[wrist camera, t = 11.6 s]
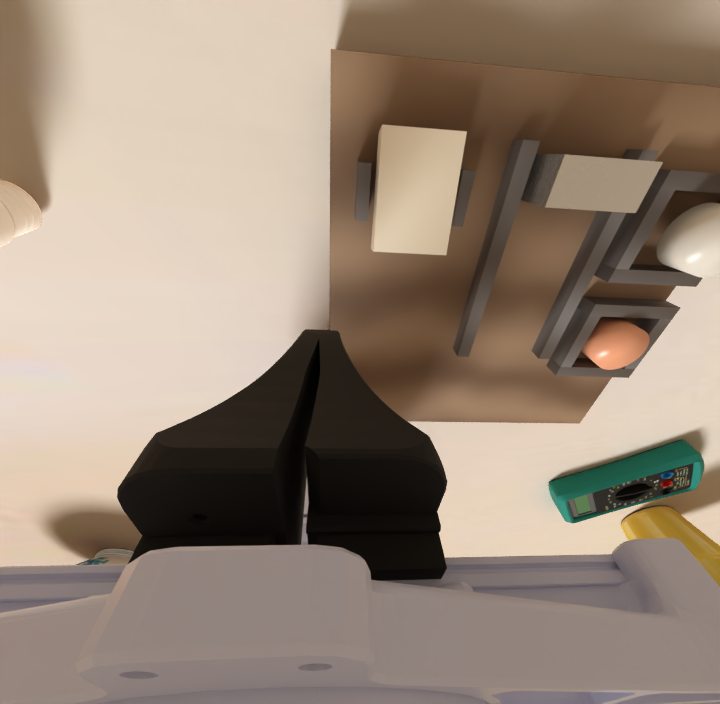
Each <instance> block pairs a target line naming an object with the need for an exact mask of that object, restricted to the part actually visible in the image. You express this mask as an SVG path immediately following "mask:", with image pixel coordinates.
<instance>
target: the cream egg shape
mask: <svg viewBox="0 0 720 704" xmlns="http://www.w3.org/2000/svg"><path fill="white" fill-rule="evenodd" d="M657 258H658V260H659V261H660V262H661V263H662V264H664V265H666V266H669V267H672V268H675V269H677V270H680V271H683V272H686V273H688V274H691V275H694V276H697V277H701V278H707V277H713V276H717V275H720V203H713V202H712V203H703V204H700V205H697V206H694V207H692V208H690V209H689V210H687V211H685V212H684V213H682V214H681V215H680V216H678V217H677V218H676V219H675V220H674V221H673V222H672V223H671V224H670V225H669V226H668V227H667V229H666V230H665V231H664V233H663V234H662V236H661V238H660V240H659V242H658V245H657Z"/></svg>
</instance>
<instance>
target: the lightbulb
mask: <svg viewBox="0 0 720 704" xmlns="http://www.w3.org/2000/svg"><path fill="white" fill-rule="evenodd" d="M41 223H42V214H41V210H40V208H39V206H38V204H37V203H36V201H35V200H34V199H33V198H32V197H31V196H30V195H29V194H28V193H27V192H26V191H24V190H23V189H22V188H20V187H19V186H17V185H15V184H13V183H10V182H8V181H4V180H0V247H2V246H4V245H6V244H8V243H9V242H10V241H11V240H12V239H13V237H17V236H20V235H22V234H26V233H28V232H30V231H33V230H35V229H37V228H38V227H39V226H40V225H41Z"/></svg>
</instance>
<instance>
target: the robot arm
mask: <svg viewBox="0 0 720 704" xmlns="http://www.w3.org/2000/svg"><path fill="white" fill-rule="evenodd" d="M446 486H447V479H446V475H445V471H444V468H443V465H442V463H441V460H440V458H439V456H438V454H437V451H436V449H435V447H434V445H433V443H432V441H431V439H430V437H429V436H428V435H427V434H425V433H423V432H422V431H420V430H419V429H417V428H416V427H414V426H413V425H411V424H410V423H408V422H407V421H406V420H404V419H403V418H402V417H400V416H399V415H398V414H397V413H395V412H394V411H393V410H392V409H391V408H390V407H388V406H387V405H386V404H385V403H384V402H383V401H382V400H381V399H380V398H379V397H378V396H377V395H376V394H375V393H374V392H373V390H372V389H371V388H370V387H369V386H368V385H367V383H366V382H365V381H364V380H363V378H362V377H361V375H360V374H359V373H358V371H357V369H356V368H355V366H354V365H353V363H352V361H351V360H350V358H349V356H348V354H347V352H346V350H345V348H344V345H343V343H342V340H341V337H340V333H339V332H338V331H336V330H304V331H303V332H302V334H301V335H300V336H299V337H298V339H297V340H296V341H295V342H294V344H293V345H292V346H291V347H290V348H289V349H288V350H287V352H286V353H285V354H284V355H283V356H282V357H281V358H280V359H279V360H278V361H277V362H276V363H275V364H274V365H273V366H272V367H271V368H270V369H269V370H268V371H266V372H265V373H264V374H263V375H262V376H261V377H259V378H258V379H257V380H256V381H254V382H253V383H252V384H250V385H249V386H247V387H246V388H244V389H243V390H241V391H240V392H238V393H237V394H235V395H233V396H232V397H230V398H229V399H227V400H225V401H224V402H222V403H220V404H218V405H217V406H215V407H213V408H211V409H209V410H207V411H205V412H203V413H201V414H199V415H197V416H195V417H193V418H191V419H188V420H186V421H184V422H182V423H179V424H177V425H175V426H172V427H170V428H168V429H165V430H163V431H160V432H158V433H156V434H155V435H154V437H153V438H152V439H151V440H150V442H149V443H148V444H147V446H146V447H145V448H144V450H143V451H142V453H141V454H140V456H139V457H138V459H137V460H136V462H135V463H134V465H133V466H132V468H131V469H130V471H129V472H128V474H127V475H126V477H125V479H124V480H123V482H122V483H121V485H120V486H119V488H118V494H117V498H118V500H119V502H120V504H121V507H122V509H123V510H124V512H125V513H126V514H127V516H128V517H129V518H130V520H131V521H132V522H133V524H134V525H135V526H136V528H137V529H138V530H139V532H140V533H141V534H142V538H141V540H140V541H139V543H138V545H137V547H136V549H135V551H134V553H133V555H132V557H131V559H130V560H129V562H128V564H111V565H62V566H12V567H0V704H720V586H719V585H718V584H717V583H716V581H715V580H714V579H713V578H712V577H711V576H710V574H709V573H708V572H707V571H706V570H705V569H704V567H703V566H702V565H701V564H700V563H699V562H698V560H697V559H696V558H695V557H694V556H693V555H692V553H691V552H690V551H689V550H688V549H687V548H686V546H685V545H684V544H683V543H682V542H681V541H680V540H678V539H676V538H650V539H633V540H630V541H626V542H624V543H622V544H620V545H619V546H618V547H617V548H616V549H615V550H614V551H613V552H612V554H609V555H559V556H509V557H459V558H445V557H444V553H443V549H442V545H441V541H440V537H439V533H438V532H440V530H441V525H440V521H439V517H438V513H437V510H438V508H439V506H440V503H441V501H442V498H443V496H444V493H445V491H446Z"/></svg>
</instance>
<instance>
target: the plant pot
mask: <svg viewBox="0 0 720 704" xmlns="http://www.w3.org/2000/svg"><path fill="white" fill-rule="evenodd" d="M621 527H622V529H623V531H624V533H625V535H626V537H627V539H628V541H630V540H633V539H650V538H676V539H678V540H680V541H681V542H682V543H683V544H684V545H685V546H686V548H687V549H688V550H689V551H690V552H691V553H692V555H693V556H694V557H695V558H696V559H697V560H698V562H699V563H700V564H701V565H702V566H703V567H704V569H705V570H706V571H707V572H708V573H709V574H710V576H711V577H712V578H713V579H714V580H715V581H716V583H717V584H718V585H719V586H720V546H719V545H718V544H716V543H715V542H714V541H713V540H711V539H710V538H709V537H707V536H706V535H705V534H704V533H702V532H701V531H700V530H699V529H697V528H696V527H695V526H694V525H692V524H691V523H690V522H689V521H687V520H686V519H685V518H684V517H682V516H681V515H680V514H679V513H677V512H676V511H675V510H674V509H672V508H670V507H666V506H656V507H650V508H646V509H643V510H640V511H637V512H635V513H633V514H631V515H629V516H628V517H626V518H625V519H624V520H623V521H622V523H621Z"/></svg>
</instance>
